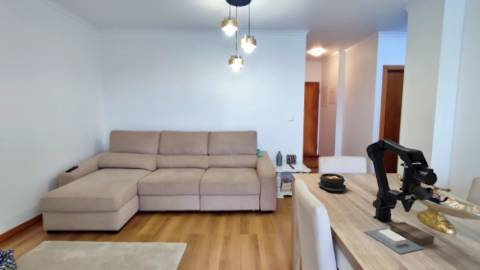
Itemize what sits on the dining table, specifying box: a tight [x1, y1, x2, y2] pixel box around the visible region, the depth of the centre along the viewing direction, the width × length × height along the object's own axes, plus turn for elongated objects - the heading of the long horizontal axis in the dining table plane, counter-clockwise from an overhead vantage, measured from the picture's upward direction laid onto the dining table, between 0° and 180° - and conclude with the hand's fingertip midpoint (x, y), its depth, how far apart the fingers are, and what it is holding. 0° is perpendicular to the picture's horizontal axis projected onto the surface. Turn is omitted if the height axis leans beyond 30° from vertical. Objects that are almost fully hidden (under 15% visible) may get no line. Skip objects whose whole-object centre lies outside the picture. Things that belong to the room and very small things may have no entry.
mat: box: [364, 227, 425, 255], centre depth 111 cm, size 18×13×1 cm
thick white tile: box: [378, 228, 407, 246], centre depth 111 cm, size 9×6×2 cm, turn 17°
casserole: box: [317, 172, 347, 192], centre depth 180 cm, size 25×19×8 cm
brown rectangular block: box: [390, 221, 435, 247], centre depth 114 cm, size 14×8×3 cm, turn 18°
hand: (407, 211), depth 115 cm, fingers closed
